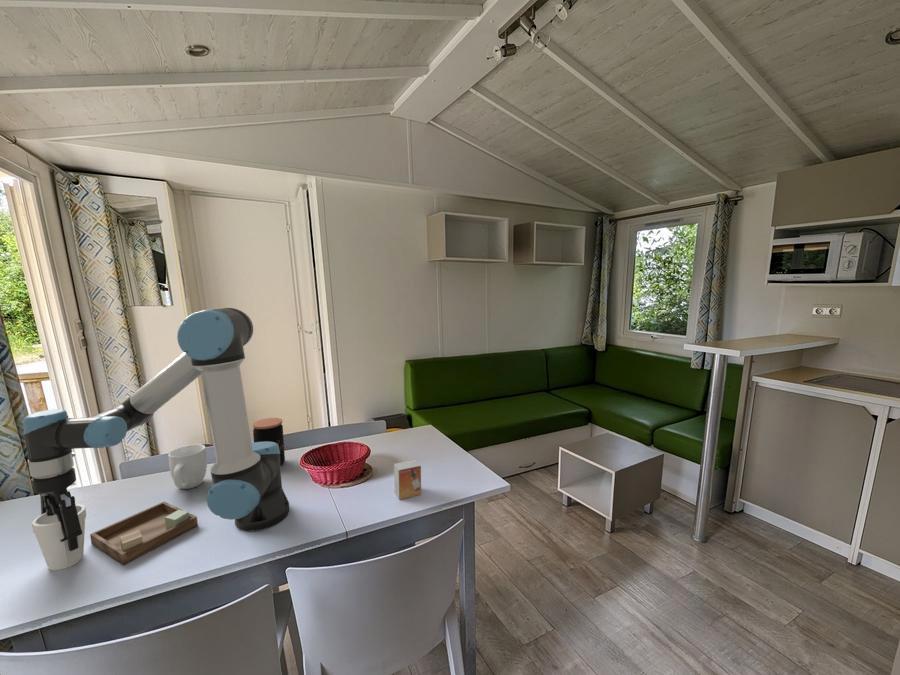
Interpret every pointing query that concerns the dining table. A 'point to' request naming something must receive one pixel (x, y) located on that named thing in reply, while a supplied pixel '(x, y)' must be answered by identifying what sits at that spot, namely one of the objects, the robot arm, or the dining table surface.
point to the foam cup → (56, 538)
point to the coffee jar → (270, 433)
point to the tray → (150, 528)
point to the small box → (407, 479)
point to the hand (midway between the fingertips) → (65, 554)
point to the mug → (188, 465)
